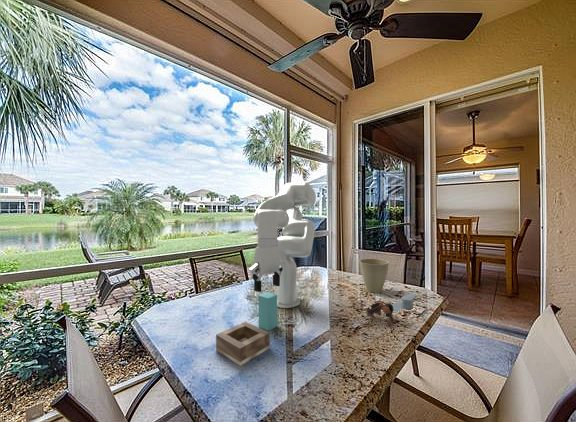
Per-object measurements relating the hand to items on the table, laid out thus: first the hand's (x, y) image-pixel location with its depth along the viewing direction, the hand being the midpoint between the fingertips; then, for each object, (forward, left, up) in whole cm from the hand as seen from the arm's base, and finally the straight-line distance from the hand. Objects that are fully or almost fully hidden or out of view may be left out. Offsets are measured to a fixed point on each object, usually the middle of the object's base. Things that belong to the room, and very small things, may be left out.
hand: (267, 288), depth 96 cm
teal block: (-1, 0, -15) cm, 15 cm away
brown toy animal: (-34, +30, -15) cm, 48 cm away
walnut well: (+15, +5, -15) cm, 22 cm away
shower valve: (-53, +35, -16) cm, 65 cm away
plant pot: (-67, +14, -15) cm, 70 cm away
